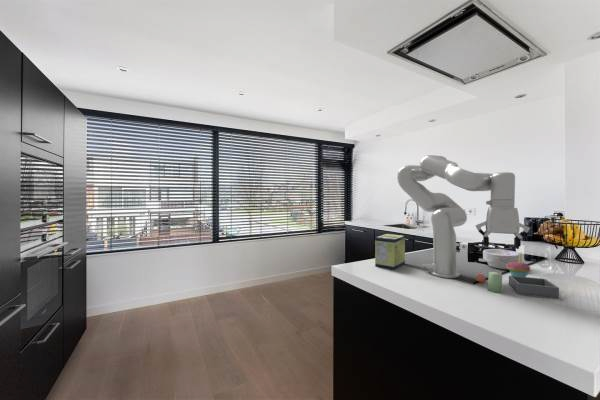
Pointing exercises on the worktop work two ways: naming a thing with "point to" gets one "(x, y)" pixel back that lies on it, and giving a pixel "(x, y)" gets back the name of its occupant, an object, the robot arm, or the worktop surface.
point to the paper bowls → (500, 257)
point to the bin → (533, 287)
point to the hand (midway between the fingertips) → (501, 247)
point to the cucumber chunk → (495, 282)
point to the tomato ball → (480, 278)
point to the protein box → (389, 251)
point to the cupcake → (518, 268)
